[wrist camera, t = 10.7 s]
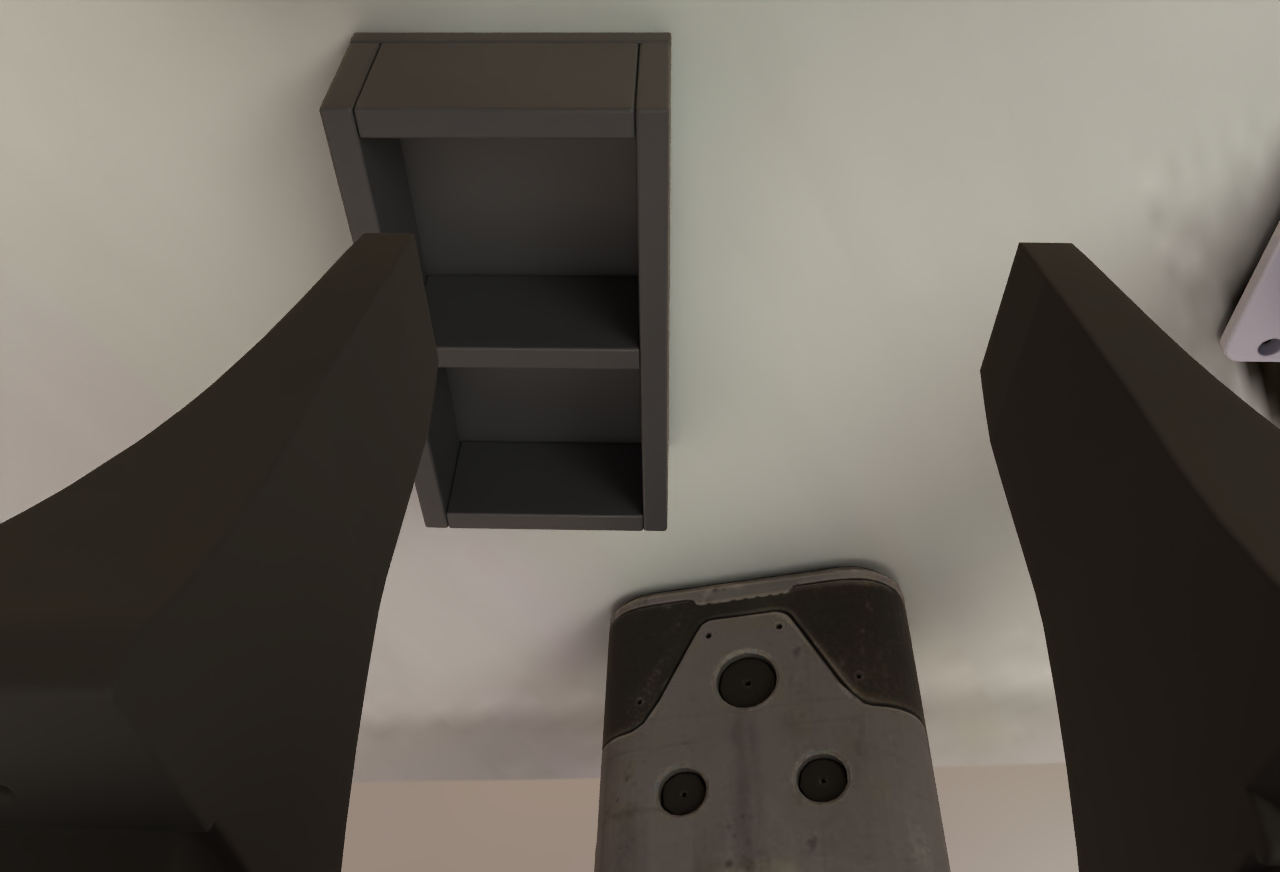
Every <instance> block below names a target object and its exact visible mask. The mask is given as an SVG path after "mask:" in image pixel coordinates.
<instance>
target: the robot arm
mask: <svg viewBox="0 0 1280 872" xmlns="http://www.w3.org/2000/svg"><path fill="white" fill-rule="evenodd" d="M1269 339H1272V340H1271V341H1269V342H1267V343H1265V344H1262V343H1263V342H1265V341H1267V340H1269ZM1220 345H1221V348H1222V350H1223V352H1224V354H1225V356H1226V357H1227V358H1229V359H1230V360H1233V361H1239V362H1280V221H1279V223H1278V225H1277V227H1276V229H1275V231H1274V233H1273V235H1272V237H1271V239H1270V241H1269V243H1268V245H1267V247H1266V249H1265V251H1264V253H1263V255H1262V257H1261V259H1260V261H1259V263H1258V265H1257V267H1256V269H1255V271H1254V273H1253V275H1252V277H1251V279H1250V281H1249V283H1248V285H1247V287H1246V289H1245V291H1244V293H1243V295H1242V297H1241V298H1240V300H1239V302H1238V304H1237V306H1236V308H1235V310H1234V312H1233V314H1232V316H1231V318H1230V320H1229V322H1228V324H1227V326H1226V328H1225V330H1224V332H1223V334H1222V336H1221V340H1220ZM438 363H439V359H438V354H437V349H436V343H435V338H434V333H433V328H432V323H431V318H430V313H429V307H428V302H427V297H426V292H425V287H424V282H423V276H422V271H421V266H420V261H419V256H418V251H417V245H416V240H415V235H414V234H411V233H364V234H363V235H362V236H361V237H360V238H359V239H358V240H357V241H356V242H355V243H354V244H353V245H352V246H351V247H350V248H349V249H348V250H347V251H346V252H345V253H344V254H343V255H342V256H341V257H340V258H339V259H338V260H337V261H336V263H335V264H334V265H333V266H332V267H331V268H330V269H329V270H328V271H327V272H326V273H325V274H324V275H323V277H322V278H321V279H320V280H319V281H318V282H317V283H316V284H315V285H314V286H313V287H312V288H311V289H310V290H309V291H308V293H307V294H306V295H305V296H304V297H303V298H302V299H301V300H300V301H299V302H298V303H297V304H296V305H295V306H294V307H293V308H292V309H291V310H290V311H289V312H288V313H287V314H286V315H285V316H284V317H283V318H282V319H281V320H280V321H279V322H278V323H277V324H276V325H275V326H274V327H273V328H272V329H271V330H270V331H269V332H268V333H267V335H266V336H265V337H264V338H263V339H261V340H260V341H259V342H258V343H257V344H256V345H255V346H254V347H253V348H252V349H251V350H250V351H248V352H247V353H246V354H245V355H244V356H243V357H242V358H241V359H240V360H239V361H238V362H236V363H235V364H234V365H233V366H232V367H231V368H230V369H229V370H228V371H227V372H225V373H224V374H223V375H222V376H221V377H220V378H219V379H218V380H217V381H216V382H215V383H213V384H212V385H211V386H210V387H209V388H207V389H206V390H205V391H204V392H203V393H201V394H200V395H199V396H198V397H196V398H195V399H194V400H193V401H191V402H190V403H189V404H188V405H186V406H185V407H184V408H183V409H181V410H180V411H179V412H177V413H176V414H175V415H173V416H172V417H171V418H169V419H168V420H167V421H165V422H164V423H163V424H161V425H160V426H159V427H157V428H156V429H155V430H153V431H152V432H151V433H149V434H148V435H146V436H145V437H144V438H142V439H141V440H139V441H138V442H136V443H135V444H134V445H132V446H130V447H129V448H127V449H126V450H124V451H123V452H121V453H120V454H118V455H116V456H115V457H113V458H112V459H110V460H109V461H107V462H106V463H104V464H102V465H101V466H99V467H98V468H96V469H95V470H93V471H92V472H90V473H88V474H87V475H85V476H84V477H82V478H81V479H79V480H78V481H76V482H74V483H73V484H71V485H70V486H68V487H66V488H65V489H63V490H61V491H59V492H58V493H56V494H54V495H52V496H51V497H49V498H47V499H45V500H44V501H42V502H40V503H38V504H36V505H35V506H33V507H31V508H29V509H28V510H26V511H24V512H22V513H20V514H18V515H16V516H14V517H13V518H11V519H9V520H7V521H5V522H3V523H1V524H0V872H341V867H342V857H343V849H344V839H345V830H346V822H347V814H348V807H349V799H350V791H351V784H352V777H353V769H354V762H355V754H356V746H357V740H358V733H359V727H360V720H361V714H362V707H363V701H364V694H365V688H366V681H367V675H368V669H369V663H370V657H371V652H372V646H373V640H374V634H375V629H376V623H377V617H378V611H379V606H380V602H381V598H382V594H383V590H384V585H385V581H386V577H387V574H388V570H389V567H390V563H391V560H392V556H393V553H394V550H395V546H396V543H397V539H398V536H399V533H400V529H401V526H402V522H403V519H404V515H405V512H406V509H407V505H408V502H409V498H410V495H411V491H412V488H413V485H414V481H415V478H416V474H417V471H418V467H419V464H420V460H421V457H422V453H423V450H424V446H425V442H426V439H427V435H428V431H429V426H430V419H431V413H432V407H433V400H434V393H435V385H436V378H437V371H438ZM980 373H981V381H982V389H983V397H984V404H985V412H986V418H987V424H988V430H989V437H990V442H991V446H992V450H993V453H994V457H995V460H996V464H997V467H998V471H999V474H1000V477H1001V481H1002V484H1003V488H1004V491H1005V494H1006V498H1007V501H1008V504H1009V508H1010V511H1011V514H1012V518H1013V521H1014V524H1015V528H1016V531H1017V534H1018V537H1019V541H1020V544H1021V547H1022V551H1023V554H1024V557H1025V561H1026V564H1027V567H1028V571H1029V574H1030V577H1031V580H1032V584H1033V587H1034V590H1035V594H1036V598H1037V602H1038V606H1039V610H1040V614H1041V618H1042V622H1043V627H1044V632H1045V638H1046V643H1047V649H1048V655H1049V660H1050V666H1051V672H1052V677H1053V683H1054V689H1055V694H1056V701H1057V707H1058V714H1059V720H1060V727H1061V734H1062V740H1063V747H1064V753H1065V760H1066V766H1067V774H1068V782H1069V789H1070V798H1071V806H1072V814H1073V822H1074V830H1075V837H1076V846H1077V856H1078V866H1079V872H1280V429H1279V428H1278V427H1276V426H1275V425H1274V424H1272V423H1271V422H1270V421H1268V420H1267V419H1266V418H1264V417H1263V416H1262V415H1260V414H1259V413H1258V412H1257V411H1255V410H1254V409H1253V408H1252V407H1250V406H1249V405H1248V404H1247V403H1245V402H1244V401H1243V400H1242V399H1241V398H1239V397H1238V396H1237V395H1236V394H1235V393H1233V392H1232V391H1231V390H1230V389H1228V388H1227V387H1226V386H1225V385H1224V384H1222V383H1221V382H1220V381H1219V380H1217V379H1216V378H1215V377H1214V376H1213V375H1212V374H1210V373H1209V372H1208V371H1207V370H1206V369H1205V368H1204V367H1202V366H1201V365H1200V364H1199V363H1198V362H1197V361H1196V360H1194V359H1193V358H1192V357H1191V356H1190V355H1189V354H1188V353H1187V352H1186V351H1184V350H1183V349H1182V348H1181V347H1180V346H1179V345H1178V344H1177V343H1176V342H1175V341H1174V340H1172V339H1171V338H1170V337H1169V336H1168V335H1167V334H1166V333H1165V332H1164V331H1163V330H1162V329H1161V328H1160V327H1159V326H1158V325H1156V324H1155V323H1154V322H1153V321H1152V320H1151V319H1150V318H1149V317H1148V316H1147V315H1146V314H1145V313H1144V312H1143V311H1142V310H1141V309H1140V308H1139V307H1138V306H1137V305H1136V304H1135V303H1134V302H1133V301H1132V300H1131V299H1130V298H1129V297H1128V296H1126V295H1125V294H1124V293H1123V292H1122V291H1121V290H1120V289H1119V288H1118V287H1117V286H1116V285H1115V284H1114V283H1113V282H1112V281H1111V280H1110V279H1109V278H1108V277H1107V276H1106V275H1105V274H1104V273H1103V272H1102V271H1101V270H1100V269H1099V268H1098V267H1097V266H1096V265H1095V264H1094V263H1093V262H1092V261H1091V260H1089V259H1088V258H1087V257H1086V256H1085V255H1084V254H1083V253H1082V252H1081V251H1080V250H1079V249H1077V248H1076V247H1075V246H1074V245H1073V244H1072V243H1019V245H1018V248H1017V252H1016V255H1015V258H1014V262H1013V265H1012V268H1011V271H1010V275H1009V278H1008V281H1007V284H1006V288H1005V291H1004V294H1003V297H1002V301H1001V304H1000V307H999V311H998V314H997V317H996V320H995V324H994V327H993V330H992V333H991V337H990V340H989V343H988V347H987V350H986V353H985V356H984V360H983V363H982V366H981V369H980Z"/></svg>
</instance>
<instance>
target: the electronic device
mask: <svg viewBox="0 0 1280 872" xmlns="http://www.w3.org/2000/svg"><path fill="white" fill-rule="evenodd" d="M602 750H603V753H602V765H601V781H600V798H599V799H600V800H599V815H598V832H597V845H596V852H595V869H594V872H950V866H949V860H948V854H947V848H946V843H945V836H944V831H943V825H942V819H941V814H940V807H939V802H938V795H937V789H936V784H935V778H934V772H933V766H932V760H931V754H930V748H929V742H928V737H927V731H926V725H925V719H924V713H923V707H922V701H921V695H920V689H919V684H918V678H917V672H916V666H915V661H914V655H913V650H912V643H911V637H910V632H909V626H908V621H907V615H906V610H905V604H904V599H903V596H902V593H901V591H900V588H899V586H898V585H897V584H896V583H895V582H894V581H893V580H892V579H890V578H888V577H886V576H884V575H882V574H880V573H877V572H875V571H872V570H870V569H864V568H858V567H840V568H833V569H825V570H818V571H811V572H804V573H797V574H790V575H783V576H776V577H769V578H761V579H754V580H747V581H740V582H733V583H726V584H719V585H712V586H705V587H698V588H690V589H683V590H676V591H669V592H662V593H656V594H650V595H646V596H642V597H639V598H637V599H635V600H633V601H631V602H629V603H627V604H625V605H624V606H622V607H620V608H619V609H618V610H617V611H616V612H615V613H614V614H613V616H612V618H611V621H610V633H609V648H608V664H607V681H606V698H605V715H604V731H603V748H602Z"/></svg>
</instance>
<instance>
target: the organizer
mask: <svg viewBox="0 0 1280 872" xmlns="http://www.w3.org/2000/svg"><path fill="white" fill-rule="evenodd" d="M320 114H321V118H322V122H323V126H324V130H325V134H326V138H327V142H328V146H329V149H330V153H331V157H332V161H333V165H334V169H335V173H336V177H337V181H338V185H339V189H340V192H341V196H342V200H343V204H344V208H345V212H346V216H347V220H348V224H349V228H350V232H351V235H352V239H353V243H355V242H356V241H357V240H358V239H359V238H360V237H361V236H362V235H363V234H364V233H411V234H414V235H415V240H416V245H417V251H418V256H419V261H420V266H421V271H422V276H423V282H424V287H425V292H426V297H427V302H428V307H429V313H430V318H431V323H432V328H433V333H434V338H435V343H436V349H437V354H438V359H439V363H438V371H437V378H436V385H435V393H434V400H433V407H432V413H431V419H430V426H429V431H428V435H427V439H426V442H425V446H424V450H423V453H422V457H421V460H420V464H419V467H418V471H417V474H416V478H415V481H414V482H415V486H416V490H417V494H418V498H419V501H420V505H421V509H422V513H423V517H424V521H425V525H426V527H437V528H446V527H448V526H449V527H450V528H489V529H557V530H626V531H641V530H643V528H644V530H646V531H665V530H666V529H667V502H668V432H669V287H670V143H671V34H670V33H354V35H353V37H352V39H351V42H350V45H349V47H348V49H347V51H346V53H345V55H344V58H343V60H342V62H341V64H340V66H339V68H338V70H337V73H336V75H335V77H334V79H333V81H332V83H331V85H330V88H329V90H328V92H327V94H326V96H325V98H324V100H323V103H322V105H321V107H320Z"/></svg>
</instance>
